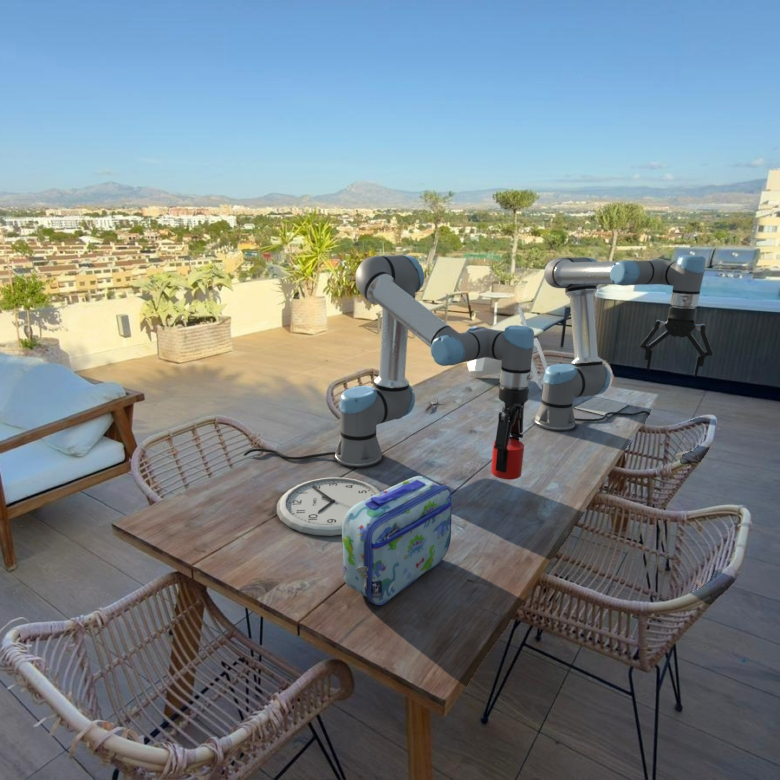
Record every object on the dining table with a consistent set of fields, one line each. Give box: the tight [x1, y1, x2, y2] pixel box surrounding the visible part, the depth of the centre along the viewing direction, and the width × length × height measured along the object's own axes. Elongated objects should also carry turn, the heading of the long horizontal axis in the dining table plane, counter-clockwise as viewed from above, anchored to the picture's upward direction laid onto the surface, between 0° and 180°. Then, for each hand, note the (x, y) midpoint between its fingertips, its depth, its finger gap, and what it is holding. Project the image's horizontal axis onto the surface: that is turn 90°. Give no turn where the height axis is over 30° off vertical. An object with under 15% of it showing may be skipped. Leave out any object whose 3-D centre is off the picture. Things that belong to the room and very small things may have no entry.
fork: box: [425, 396, 439, 412], centre depth 222 cm, size 3×16×2 cm, turn 160°
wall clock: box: [276, 476, 382, 537], centre depth 142 cm, size 30×2×30 cm
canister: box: [490, 439, 525, 481], centre depth 143 cm, size 8×8×9 cm
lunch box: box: [341, 475, 453, 606], centre depth 111 cm, size 26×11×21 cm, turn 134°
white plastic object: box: [466, 306, 549, 390], centre depth 259 cm, size 37×45×31 cm
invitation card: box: [573, 396, 629, 418], centre depth 226 cm, size 21×1×15 cm
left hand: (506, 464), depth 143 cm, fingers closed on canister, 8 cm apart
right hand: (671, 373), depth 168 cm, fingers open, 13 cm apart
